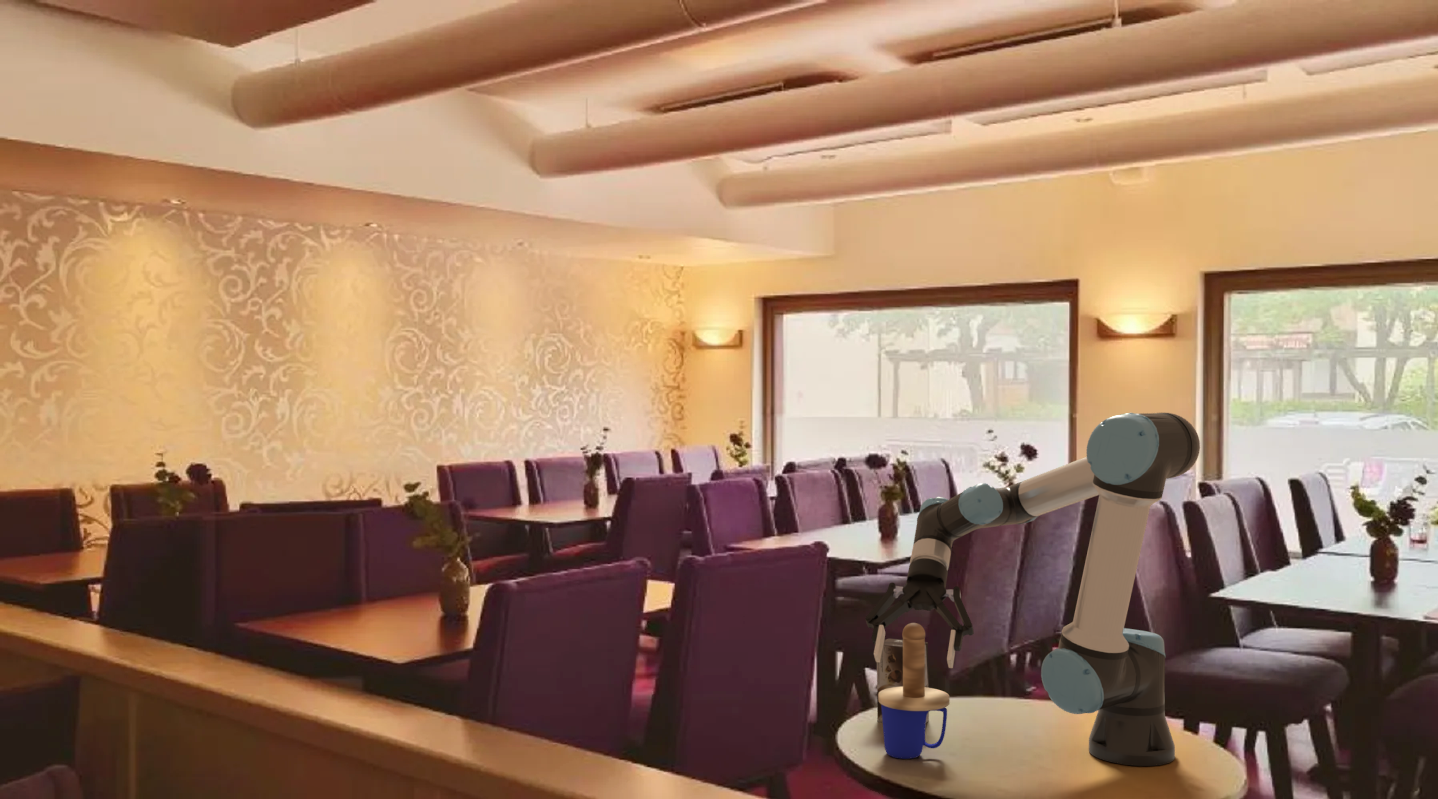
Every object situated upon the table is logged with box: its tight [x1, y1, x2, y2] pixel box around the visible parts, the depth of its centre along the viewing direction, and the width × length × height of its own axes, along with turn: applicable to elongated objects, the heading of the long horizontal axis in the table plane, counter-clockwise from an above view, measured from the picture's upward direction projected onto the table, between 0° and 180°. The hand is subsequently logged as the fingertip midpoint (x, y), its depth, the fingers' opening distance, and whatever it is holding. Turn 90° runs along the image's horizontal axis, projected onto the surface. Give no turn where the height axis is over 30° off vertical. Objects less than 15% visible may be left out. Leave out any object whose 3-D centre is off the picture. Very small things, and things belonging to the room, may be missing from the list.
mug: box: [881, 704, 948, 760], centre depth 227 cm, size 8×12×10 cm
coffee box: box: [876, 638, 930, 723], centre depth 250 cm, size 9×6×16 cm
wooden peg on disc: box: [878, 622, 951, 712], centre depth 227 cm, size 13×13×15 cm
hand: (912, 661), depth 227 cm, fingers open, 13 cm apart
